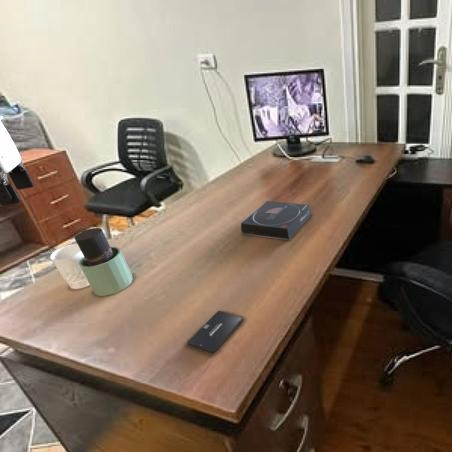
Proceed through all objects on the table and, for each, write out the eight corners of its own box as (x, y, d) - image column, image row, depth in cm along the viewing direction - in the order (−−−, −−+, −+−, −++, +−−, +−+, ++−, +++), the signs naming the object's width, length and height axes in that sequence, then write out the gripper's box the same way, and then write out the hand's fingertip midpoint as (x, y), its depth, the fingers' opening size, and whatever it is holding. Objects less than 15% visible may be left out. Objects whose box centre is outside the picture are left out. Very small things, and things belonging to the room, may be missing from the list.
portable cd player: (267, 210, 125) (265, 200, 123) (311, 215, 119) (309, 204, 117) (241, 234, 112) (239, 223, 110) (289, 240, 106) (287, 228, 104)
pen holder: (91, 300, 88) (75, 271, 84) (96, 280, 96) (82, 253, 92) (131, 288, 91) (118, 260, 87) (134, 269, 99) (122, 243, 95)
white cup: (76, 294, 91) (58, 263, 86) (62, 286, 95) (44, 255, 90) (106, 277, 97) (90, 247, 92) (91, 270, 101) (76, 240, 96)
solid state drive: (187, 344, 72) (186, 342, 72) (219, 312, 80) (218, 310, 80) (213, 354, 70) (212, 351, 69) (243, 319, 77) (243, 317, 77)
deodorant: (96, 290, 90) (69, 241, 83) (105, 277, 96) (81, 229, 88) (119, 287, 91) (95, 238, 84) (128, 273, 96) (106, 226, 89)
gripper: (-30, 110, 73) (11, 186, 81) (-75, 125, 59) (-19, 215, 67) (13, 105, 76) (49, 179, 84) (-20, 118, 62) (27, 206, 70)
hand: (19, 195), depth 76 cm, fingers open, 9 cm apart
